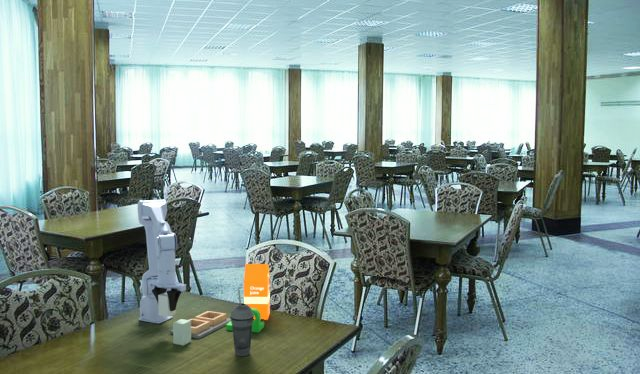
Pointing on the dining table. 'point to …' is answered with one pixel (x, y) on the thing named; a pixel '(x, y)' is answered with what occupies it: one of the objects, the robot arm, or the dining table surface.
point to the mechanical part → (256, 324)
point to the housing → (207, 323)
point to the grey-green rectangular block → (164, 305)
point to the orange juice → (257, 288)
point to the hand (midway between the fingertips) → (167, 309)
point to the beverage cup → (242, 327)
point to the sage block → (182, 332)
